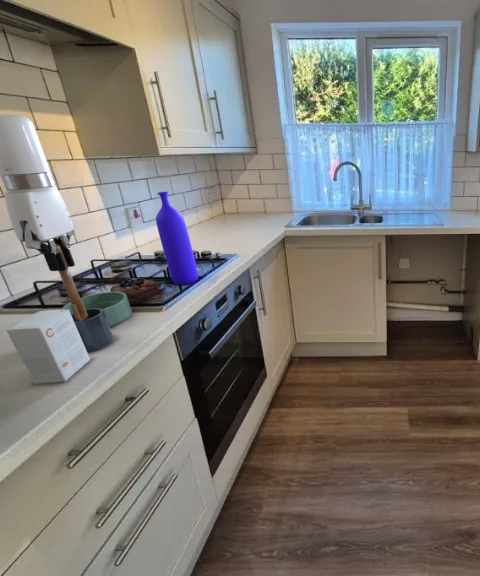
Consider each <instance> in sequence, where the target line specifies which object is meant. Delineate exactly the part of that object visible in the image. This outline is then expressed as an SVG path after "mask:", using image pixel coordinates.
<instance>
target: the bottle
mask: <svg viewBox="0 0 480 576" xmlns="http://www.w3.org/2000/svg"><path fill="white" fill-rule="evenodd" d="M157 195H159V197H160V200H161V207H160V209H159V210H158V212H157V213H156V216H155V223H156V228H157V232H158V235H159V239H160V243H161V245H162V250H163V253H164V258H165V261H166V265H167V267H168V271H169V274H170V277H171V280H172V282H173V284H174V285H178V286H180V285H181V286H183V285H189V284H193V283H195V282H197V281H198V279H199V272H198V267H197V264H196V259H195V255H194V251H193V247H192V244H191V239H190V235H189V231H188V227H187V225H186V221H185V219H184V216H183V214H182V213H181V212H180V211H179V210H177V208H175V207H174V206H172V205H171V203H170V200H169V197H168V195H169V191H159V192H157Z"/></svg>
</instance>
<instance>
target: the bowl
mask: <svg viewBox="0 0 480 576" xmlns="http://www.w3.org/2000/svg"><path fill="white" fill-rule="evenodd" d="M80 299H81V300H82V301H83V303H84V306H85V309H91V308H100V309H102V310H103V311H104V313H105V316H106V319H107V321H108V324H109V327H111V326H114V325H116V324H119V323H121V322H123V321H125V320H126V319H128V318H129V317H130V316H131V314H132V312H133V309H132V307H131V304H129V301H128V298H127V295H126V294H125V293H122V292H111V291H105V292H97V293H94V294H89V295H86V296H83V297H80ZM70 305H72V304H71V301H70V302H68V303H67V304H65V305H64V306H63V307H62V308H61V309H60V310H69V311H70V314H73V311H72V308H71V306H70Z"/></svg>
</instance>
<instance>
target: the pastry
mask: <svg viewBox="0 0 480 576" xmlns="http://www.w3.org/2000/svg"><path fill="white" fill-rule="evenodd" d="M156 282H157V281H156V280H149V279H145V277H144V276H138V277H137V278H134V277H133V278H132V277H131V278H130V277H126V278H125V279H124V280H122V281H121V282H120V283H116V284H114V285H112V286H111V287H110V290H109V292H122V293H125V294H126V295H127V298H128V301H129V304H130V305H134V304H136V303H140V302H143V301H146V300H149V299H152V298H153V297H155V296H158V295H159V294H160V290H159V286H158V284H157V283H156Z"/></svg>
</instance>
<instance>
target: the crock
mask: <svg viewBox="0 0 480 576" xmlns="http://www.w3.org/2000/svg"><path fill="white" fill-rule="evenodd" d="M86 311H87V314H88V317H89V319H87V320H83V321H78V322H77V321H76V318H75V316H74V313H73V314H71V316H72V318H73V321H74V323H75V325H76V328H77V330H78V332H79V335H80V337H81V339H82V342H83V344H84V346H85V349H86V351H87V353H92V352H96V351H99V350H102V349H104V348H106V347H108V346H110V345H111V344H113V342H114V341H115V338H114V335H113V332H112V330H111V326H109V324H108V321H107V319H106V316H105V313H104V311H103V310H102V309H100V308H91V309H86Z"/></svg>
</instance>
